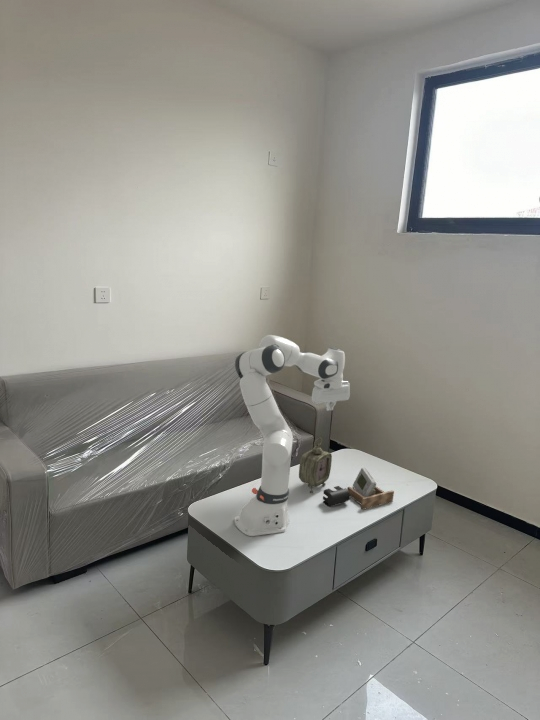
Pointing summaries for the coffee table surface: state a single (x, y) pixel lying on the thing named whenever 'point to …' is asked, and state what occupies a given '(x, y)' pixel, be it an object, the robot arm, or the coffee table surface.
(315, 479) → the tabletop clock
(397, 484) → the coffee table surface
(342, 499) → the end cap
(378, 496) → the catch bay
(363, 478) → the digital clock
